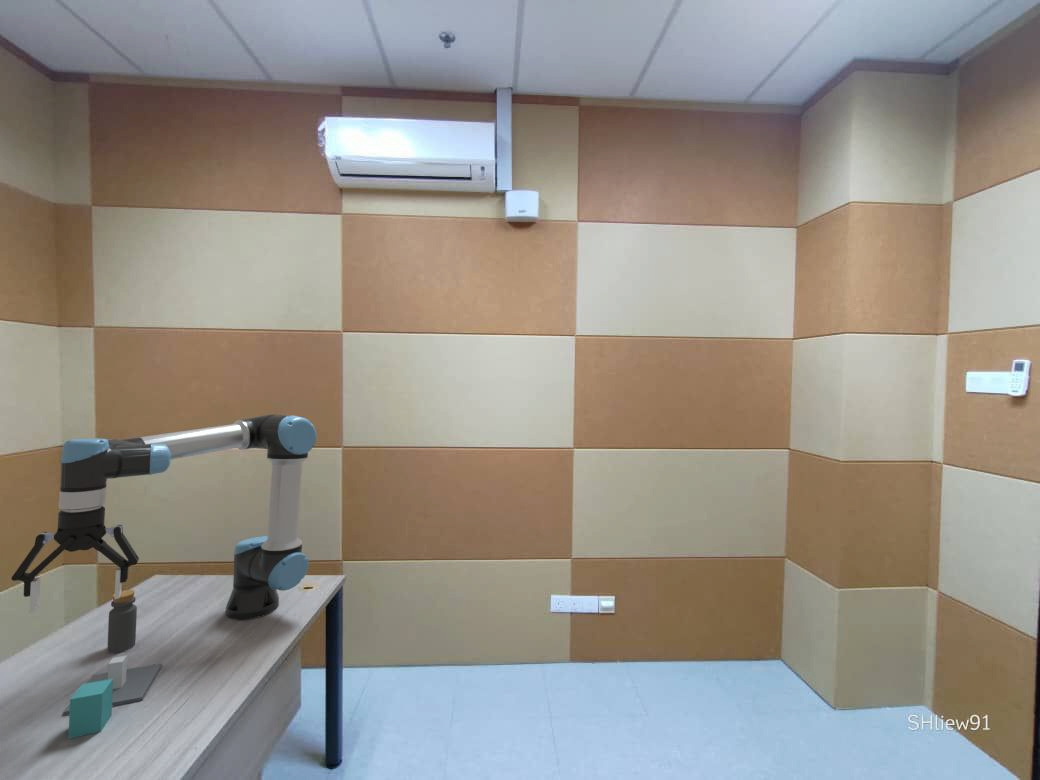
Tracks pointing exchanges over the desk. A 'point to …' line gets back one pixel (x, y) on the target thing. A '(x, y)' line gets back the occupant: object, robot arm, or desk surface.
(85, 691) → the teal rectangular block
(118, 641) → the bottle
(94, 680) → the stand
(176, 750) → the desk surface
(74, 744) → the desk surface
